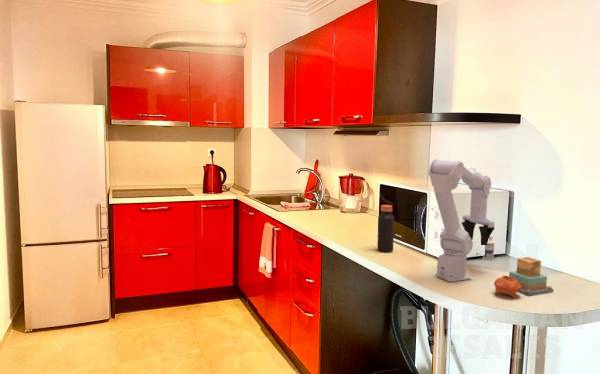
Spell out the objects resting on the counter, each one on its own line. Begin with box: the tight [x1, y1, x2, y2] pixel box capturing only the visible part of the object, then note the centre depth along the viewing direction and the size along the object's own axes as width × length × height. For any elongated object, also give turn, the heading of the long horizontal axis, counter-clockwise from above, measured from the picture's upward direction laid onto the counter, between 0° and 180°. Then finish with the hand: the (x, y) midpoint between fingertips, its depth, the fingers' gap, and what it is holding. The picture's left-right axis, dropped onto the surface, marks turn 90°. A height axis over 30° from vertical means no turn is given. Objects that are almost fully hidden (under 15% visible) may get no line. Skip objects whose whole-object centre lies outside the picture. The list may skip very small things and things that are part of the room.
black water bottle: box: [377, 204, 395, 253], centre depth 198 cm, size 7×7×20 cm
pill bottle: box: [481, 235, 495, 260], centre depth 189 cm, size 5×5×10 cm
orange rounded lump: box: [493, 275, 521, 299], centre depth 147 cm, size 8×8×7 cm
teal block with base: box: [508, 270, 554, 297], centre depth 153 cm, size 11×11×5 cm
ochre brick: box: [516, 256, 542, 277], centre depth 152 cm, size 5×5×5 cm
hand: (476, 242), depth 173 cm, fingers open, 7 cm apart
